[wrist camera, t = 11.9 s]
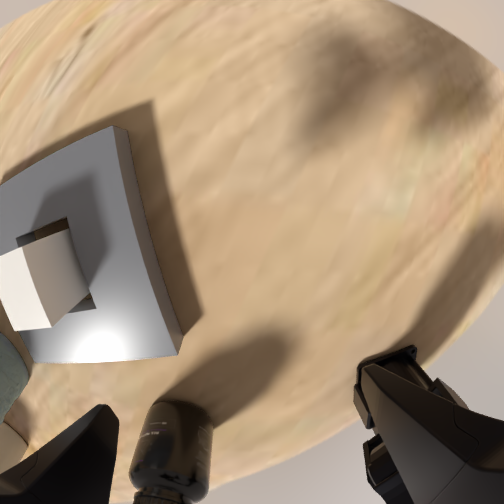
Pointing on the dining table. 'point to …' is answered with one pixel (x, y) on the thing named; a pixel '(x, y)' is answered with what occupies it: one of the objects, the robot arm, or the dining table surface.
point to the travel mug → (10, 447)
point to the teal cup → (10, 375)
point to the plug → (41, 282)
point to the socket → (95, 252)
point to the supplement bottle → (172, 455)
